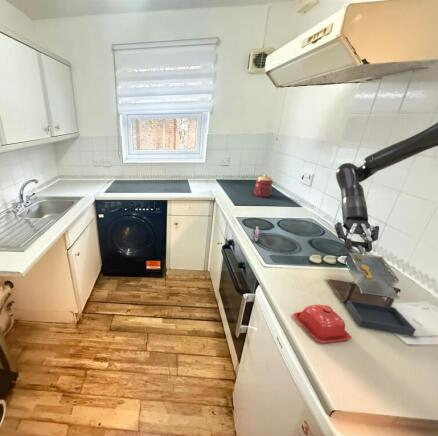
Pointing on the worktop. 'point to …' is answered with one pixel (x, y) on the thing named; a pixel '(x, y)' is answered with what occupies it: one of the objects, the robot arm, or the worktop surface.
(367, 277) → the key
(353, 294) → the stand
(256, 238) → the decorative key
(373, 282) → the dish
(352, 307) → the tray
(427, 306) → the worktop surface
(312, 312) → the butter dish
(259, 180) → the kitchen canister
